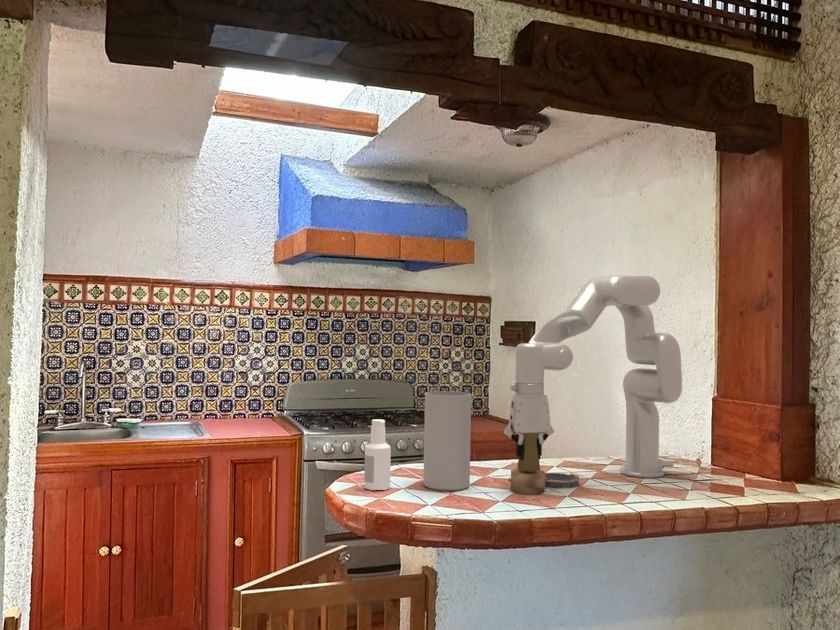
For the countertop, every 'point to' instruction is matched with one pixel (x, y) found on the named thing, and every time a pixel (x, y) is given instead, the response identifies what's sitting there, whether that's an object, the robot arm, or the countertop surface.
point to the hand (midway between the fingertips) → (528, 458)
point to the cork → (529, 453)
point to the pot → (527, 482)
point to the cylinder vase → (447, 440)
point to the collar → (570, 481)
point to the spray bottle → (377, 458)
